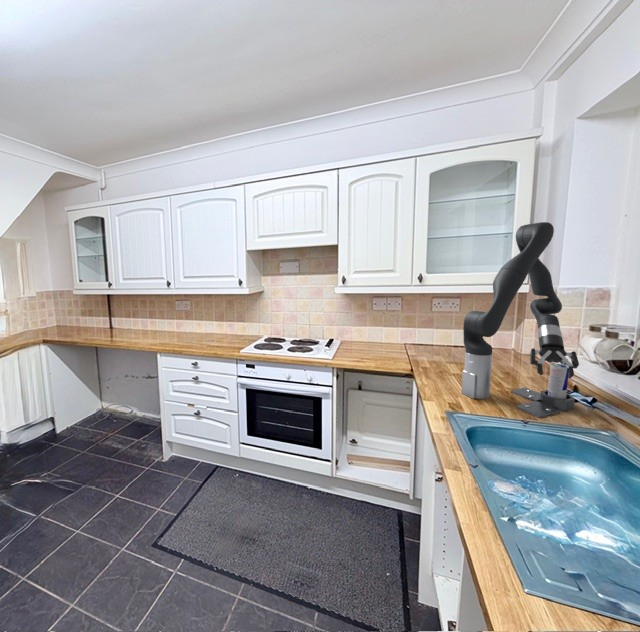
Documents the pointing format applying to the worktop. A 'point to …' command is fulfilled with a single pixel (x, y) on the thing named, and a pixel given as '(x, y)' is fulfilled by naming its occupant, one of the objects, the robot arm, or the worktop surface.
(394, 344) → the worktop surface
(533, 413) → the grey can holder
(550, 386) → the beverage can
